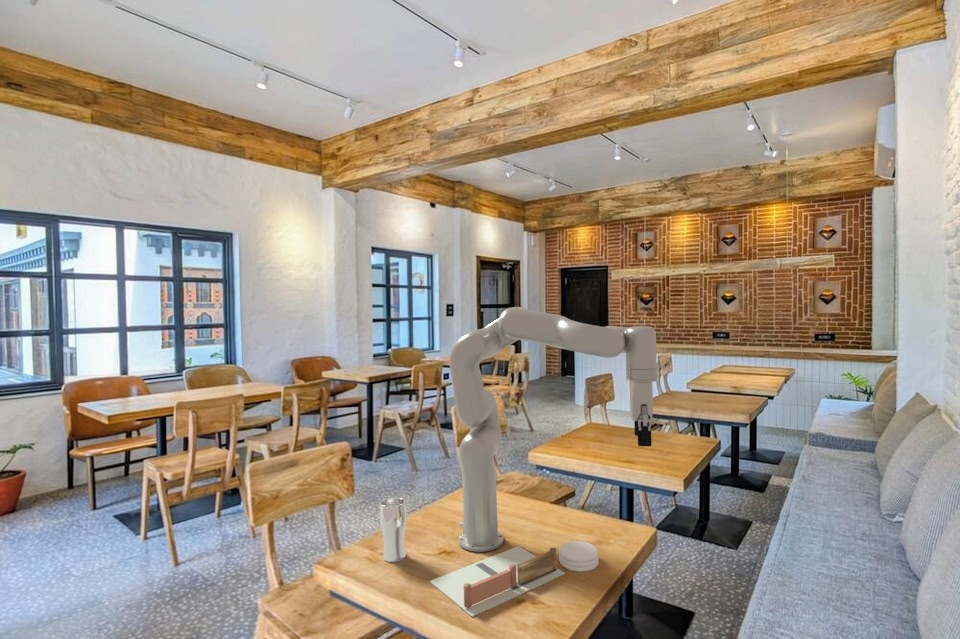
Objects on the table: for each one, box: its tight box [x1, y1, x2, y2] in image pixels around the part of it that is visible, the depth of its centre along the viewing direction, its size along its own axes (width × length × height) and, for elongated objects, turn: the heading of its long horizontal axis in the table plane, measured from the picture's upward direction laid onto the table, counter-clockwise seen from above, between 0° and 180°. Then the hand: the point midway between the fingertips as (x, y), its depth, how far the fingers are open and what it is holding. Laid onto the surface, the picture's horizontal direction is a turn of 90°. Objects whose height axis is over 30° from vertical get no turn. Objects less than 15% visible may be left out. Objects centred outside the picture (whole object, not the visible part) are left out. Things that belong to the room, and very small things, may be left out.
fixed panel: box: [517, 547, 558, 584], centre depth 127 cm, size 2×12×5 cm, turn 126°
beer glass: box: [379, 497, 407, 563], centre depth 140 cm, size 7×7×15 cm
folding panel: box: [464, 564, 517, 608], centre depth 119 cm, size 15×2×5 cm, turn 126°
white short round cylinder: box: [558, 540, 600, 573], centre depth 134 cm, size 10×10×4 cm
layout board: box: [429, 545, 566, 617], centre depth 128 cm, size 18×28×1 cm, turn 126°
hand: (642, 440), depth 134 cm, fingers open, 9 cm apart
